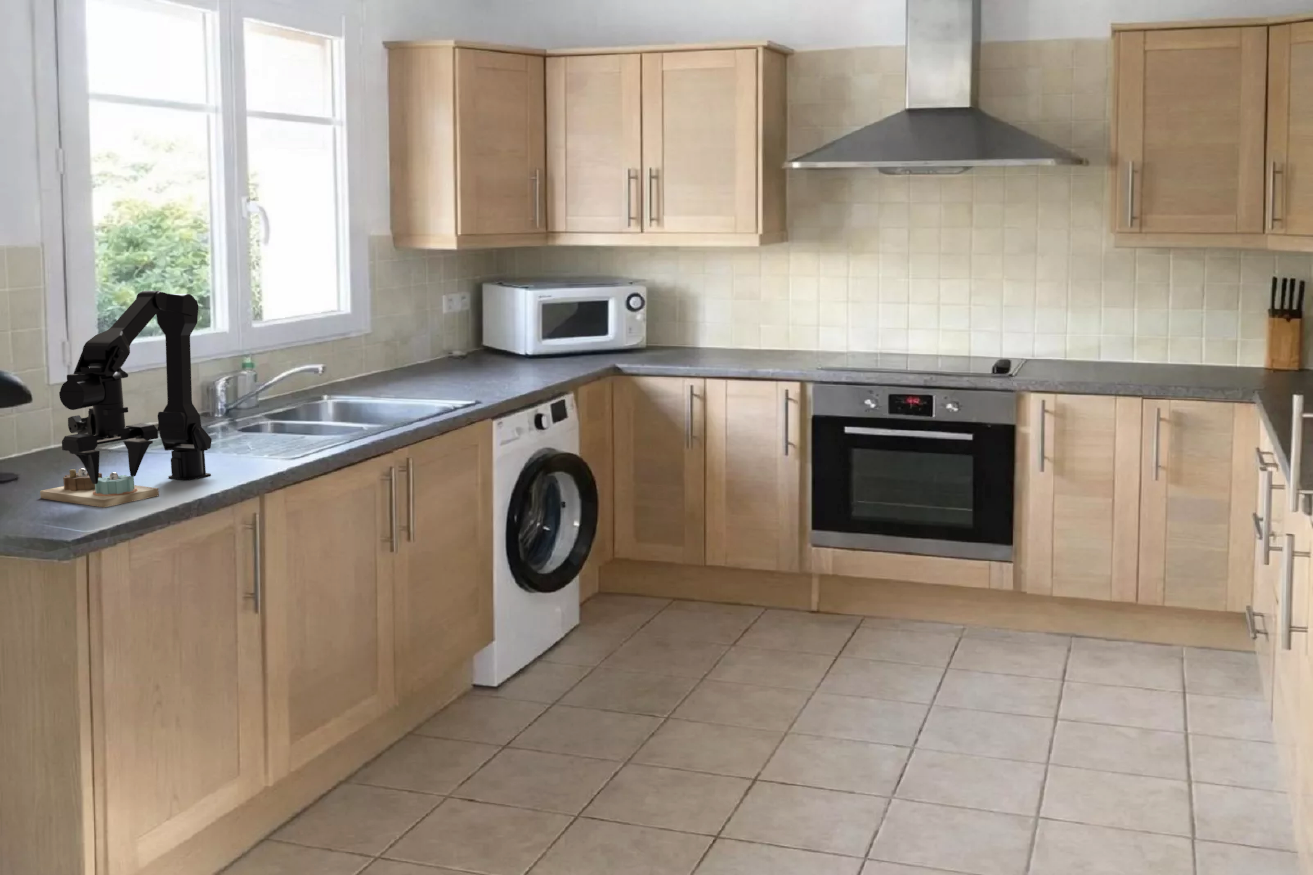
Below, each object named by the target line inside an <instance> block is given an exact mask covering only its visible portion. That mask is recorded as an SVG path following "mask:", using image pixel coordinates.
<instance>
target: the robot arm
mask: <svg viewBox="0 0 1313 875" xmlns="http://www.w3.org/2000/svg"><path fill="white" fill-rule="evenodd" d="M155 317H156V321H157V325H158V326H159V328H160V329H161V331H162V333H163V334H164V337H165V356H166V357H165V363H166V366H165V368H166V393H167V394H166V395H167V396H166V397H167V404H166V405H165V407H164V409H163V410H162V411H158V413H157V422H158V423H157V424H158V425H157V427H156V426H155V425H154V424H149V423H148V424H146V423H134V424H130V425H129V424H128V425H126V419H125V414H126V413H129V407H128V406H124V397H123V396H124V393H123V384H122V383H123V382H122V379H125V378H128V377H129V374H128V373H127V372H126V371H125V370H123V369H122V368H121V367H123V366H124V364H125V362H126V360H127V359H128V357H129V356H130V354H131V344H132V343H133V342H134V340H135V339H136V338H137V337H138V336H139V334H140V333H141V332H142V331H143V330H144V329H145V327H147V325H148V324H149V323H150V322H151V320H152V319H153V318H155ZM198 317H199V302H198V300H197V299H196V298H195V297H194V296H193V295H192V294H190V293H167V292H163V291H161V290H141V291H140V292H138V293H137V295H136V298H135V299H134V300H133V302H132V303H131V304H130V305H129V306H128V307H127V309H125V310H124V312H123V313H122V314H121V315H120V316H119V317H118V319H116V321H115V322H114V323H113V324H112V325H111V327H110V328H108V329H107V330H105V331H102V332H100V333H97V334H96V335H93V336H92V337H91V338H90V339H89V340H87V341H86V342H85V343H84V345H83V347H82V351H81V354H80V356H79V359H78V361H77V364H76V367H75V369H74V371H73V373H71V374H70V373H69V374H66V381H65V382H63V384H62V385H61V386H60V389H59V392H58V394H59V399H60V402H61V403H62V405H63V406H64V407H65V408H66V409H68V410H70V411H75V410H80V409H84V408H88V411H87V412H88V413H87V414H88V416H86V417H81V415H79V414H78V415H71V416H69V417H68V418H67V427H68V431H69V432H70V433H71V434H69V435H65V436H63V438H62V439H61V440H62V441H61V448H62V451H66V452H69V454H71V455H75V456H76V457H77V458H79V460H80V462H81V464H82V465H83V466H84V467H83V468H84V469H86V472H87V473H88V475H89V477H90V479H91V481H92V483H93V484H98V478H99V473H100V450H95V449H97V447H98V445H103V444H107V443H113V442H118V441H122V442H123V443H124V444H123V445H125V447H126V450H127V458H128V468H129V474H130V475H129V476H133V477H136V476H137V473H138V470H139V469H140V466H141V464H142V461H143V459H144V456H145V454H146V453H147V450H148V449H149V447H150V445H152V444H153V443H154V441H153V440H157V439H159V437H160V440H161V443H162V446H163V448H164V451H171V457H170V468H171V469H170V472H171V475H168V476H167V477H168V479H171V480H179V481H193V480H198V479H202V478H207V477H211V476H212V473H208V472H207V470H206V469H207V468H206V456H205V451H208V450H210V449H211V447H212V446H211V445H212V437H211V436H210V435H209V433H208V432H207V431H206V430H205V429H204V428H203V427H202V423H201V422H202V421H201V416H200V413H199V412H198V410H197V409H196V407H195V405H194V403H193V397H192V395H193V393H192V389H193V388H192V364H191V363H192V362H191V361H192V360H191V356H192V355H191V335H192V333H193V331H194V330H195V327H197V324H198ZM90 407H91V408H90Z"/></svg>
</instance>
